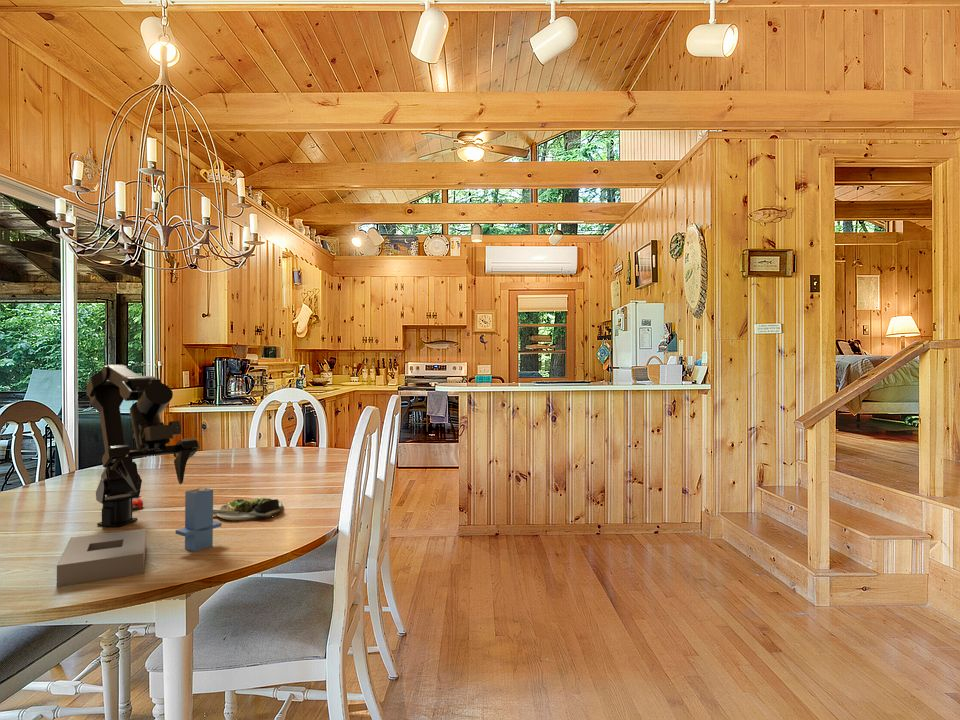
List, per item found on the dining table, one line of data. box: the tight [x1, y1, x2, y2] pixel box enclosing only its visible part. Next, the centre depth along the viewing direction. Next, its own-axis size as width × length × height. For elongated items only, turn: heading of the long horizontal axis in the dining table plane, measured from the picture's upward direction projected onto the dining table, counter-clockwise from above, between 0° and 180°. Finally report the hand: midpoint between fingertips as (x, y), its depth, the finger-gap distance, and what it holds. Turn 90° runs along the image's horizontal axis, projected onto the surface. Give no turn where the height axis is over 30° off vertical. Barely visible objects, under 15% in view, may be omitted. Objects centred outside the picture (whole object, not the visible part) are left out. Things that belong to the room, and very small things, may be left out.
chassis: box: [56, 528, 147, 587], centre depth 116 cm, size 18×14×4 cm
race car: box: [132, 495, 144, 511], centre depth 161 cm, size 13×5×4 cm, turn 41°
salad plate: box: [213, 497, 283, 522], centre depth 155 cm, size 19×18×5 cm
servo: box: [175, 486, 222, 553], centre depth 127 cm, size 4×9×14 cm, turn 149°
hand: (159, 486), depth 126 cm, fingers open, 9 cm apart
